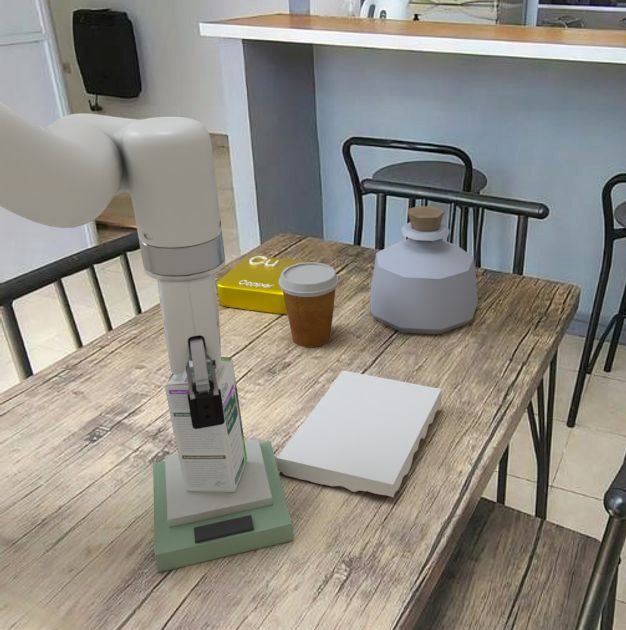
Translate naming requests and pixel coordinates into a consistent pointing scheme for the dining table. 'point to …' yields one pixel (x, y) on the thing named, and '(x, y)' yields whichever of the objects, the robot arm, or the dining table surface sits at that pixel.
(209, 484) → the syrup box
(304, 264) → the disposable coffee cup
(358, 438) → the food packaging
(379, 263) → the bottle
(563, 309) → the dining table surface
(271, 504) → the scale
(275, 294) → the element tile
